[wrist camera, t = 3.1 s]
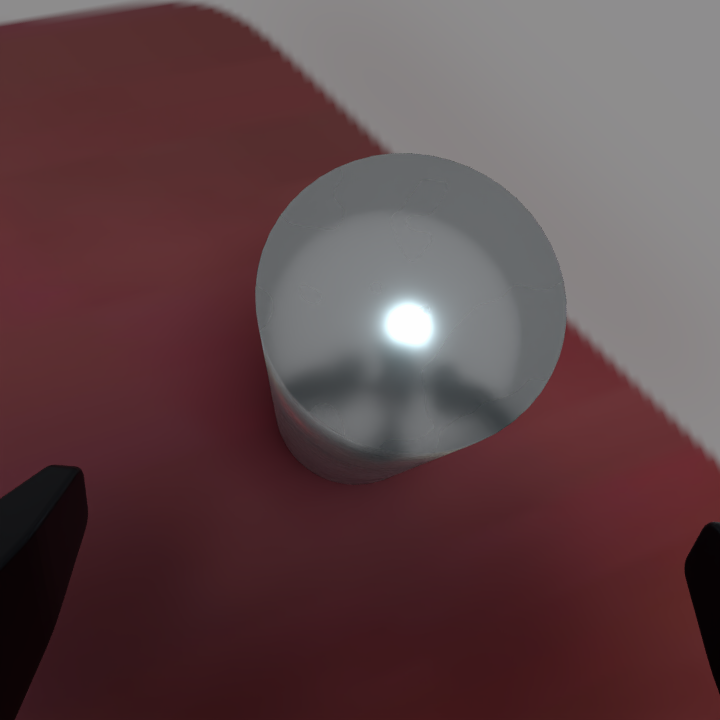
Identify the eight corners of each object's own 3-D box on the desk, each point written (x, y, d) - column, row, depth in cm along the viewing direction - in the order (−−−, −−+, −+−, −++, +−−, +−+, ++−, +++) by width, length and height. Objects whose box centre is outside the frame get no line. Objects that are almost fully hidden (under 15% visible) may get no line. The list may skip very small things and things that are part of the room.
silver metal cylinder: (309, 510, 20) (325, 505, 10) (251, 358, 21) (210, 207, 11) (459, 448, 21) (618, 383, 11) (397, 305, 22) (489, 117, 11)
